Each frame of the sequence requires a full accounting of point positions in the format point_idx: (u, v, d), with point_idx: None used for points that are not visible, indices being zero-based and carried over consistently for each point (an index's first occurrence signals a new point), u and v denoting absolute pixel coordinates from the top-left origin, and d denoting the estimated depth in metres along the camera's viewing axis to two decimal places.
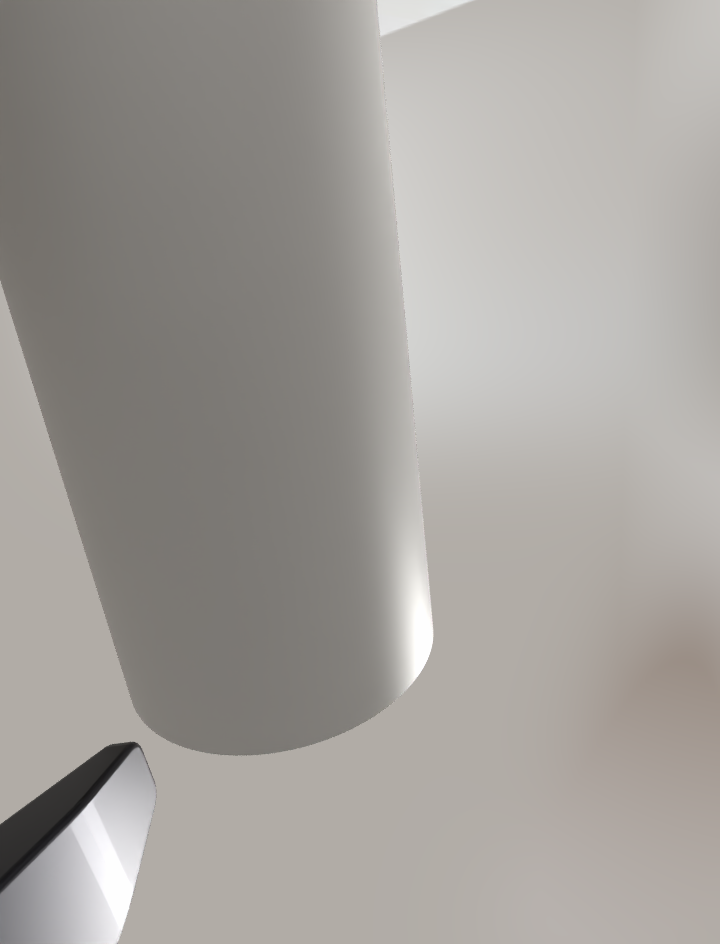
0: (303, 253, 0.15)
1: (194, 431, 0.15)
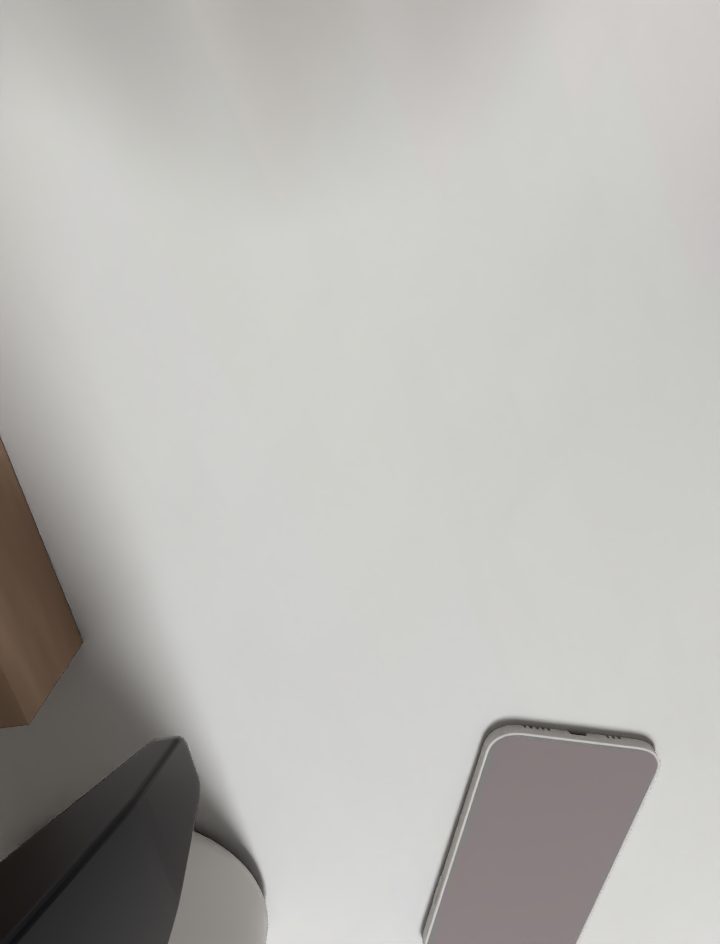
0: None
1: None
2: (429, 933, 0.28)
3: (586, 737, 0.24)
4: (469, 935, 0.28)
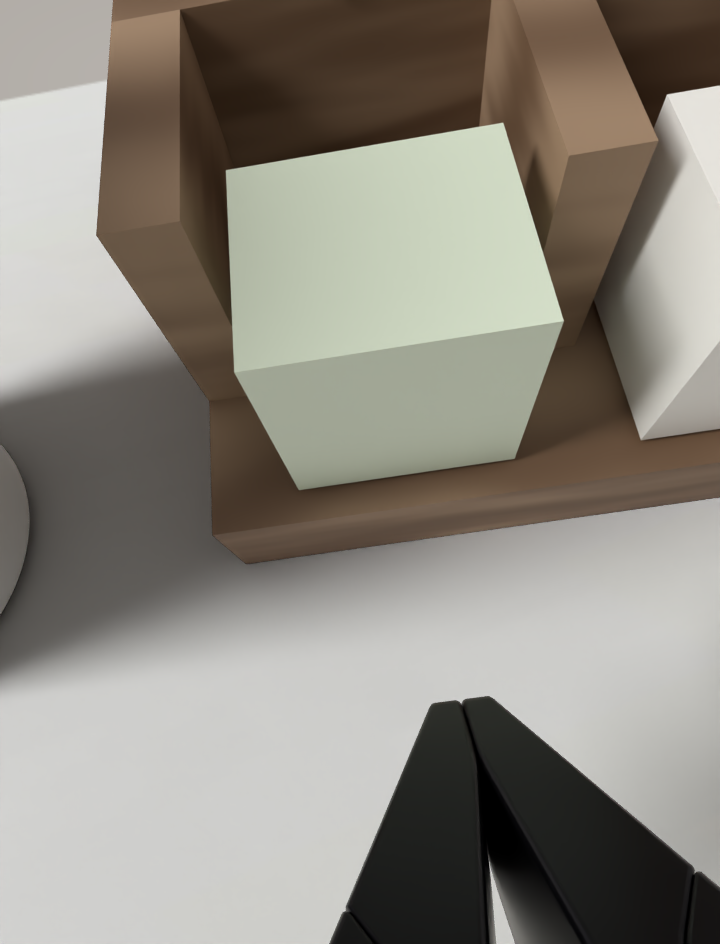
0: None
1: None
2: None
3: None
4: None
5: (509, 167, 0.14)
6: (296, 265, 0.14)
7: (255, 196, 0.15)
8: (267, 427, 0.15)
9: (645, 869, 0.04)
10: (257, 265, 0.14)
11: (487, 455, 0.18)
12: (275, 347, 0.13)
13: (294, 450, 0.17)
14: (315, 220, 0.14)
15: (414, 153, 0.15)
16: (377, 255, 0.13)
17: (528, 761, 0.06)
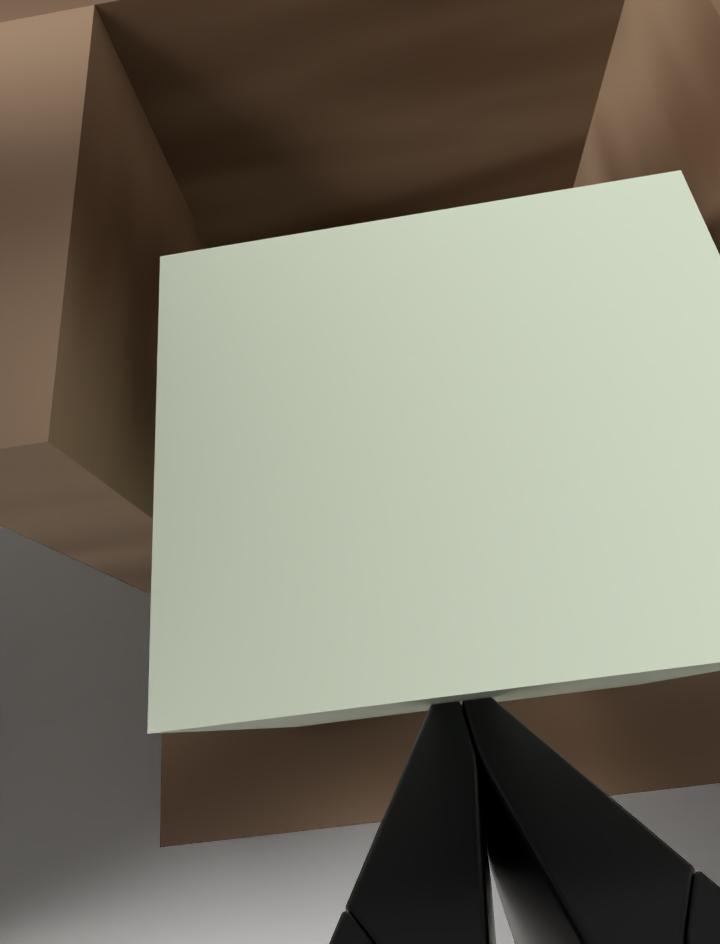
0: None
1: None
2: None
3: None
4: None
5: (704, 261, 0.07)
6: (287, 466, 0.07)
7: (211, 310, 0.08)
8: (235, 728, 0.08)
9: (645, 869, 0.04)
10: (209, 462, 0.07)
11: None
12: (238, 670, 0.06)
13: (288, 724, 0.10)
14: (325, 366, 0.07)
15: (514, 230, 0.08)
16: (452, 451, 0.07)
17: (528, 760, 0.06)
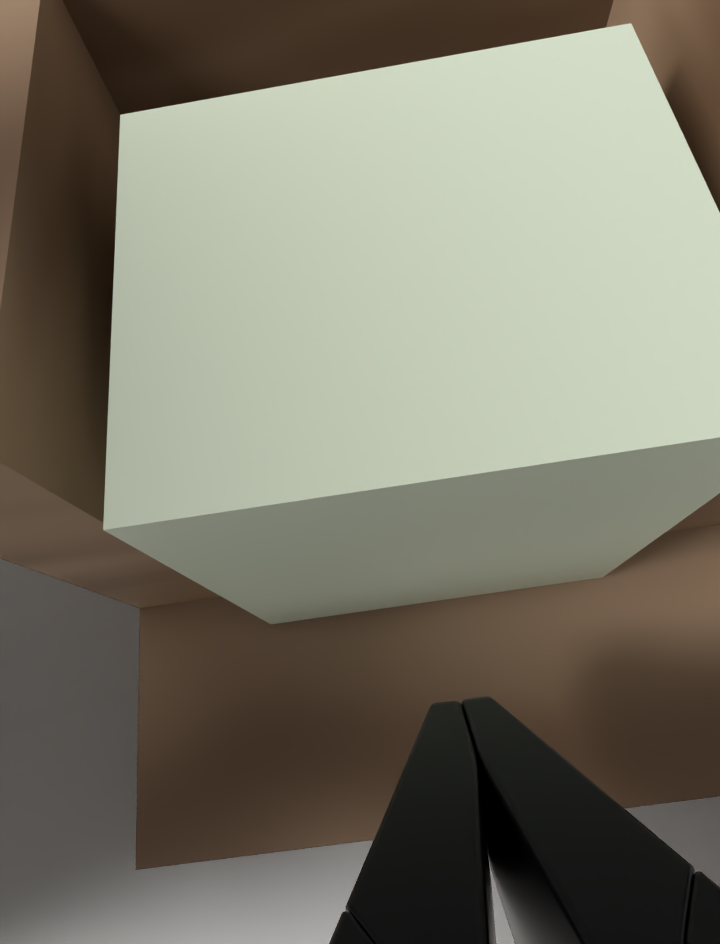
0: None
1: None
2: None
3: None
4: None
5: (651, 101, 0.07)
6: (241, 295, 0.07)
7: (170, 161, 0.08)
8: (200, 581, 0.08)
9: (645, 869, 0.04)
10: (165, 294, 0.07)
11: (564, 578, 0.12)
12: (190, 472, 0.06)
13: (256, 596, 0.10)
14: (281, 207, 0.07)
15: (468, 80, 0.08)
16: (402, 276, 0.07)
17: (527, 761, 0.06)
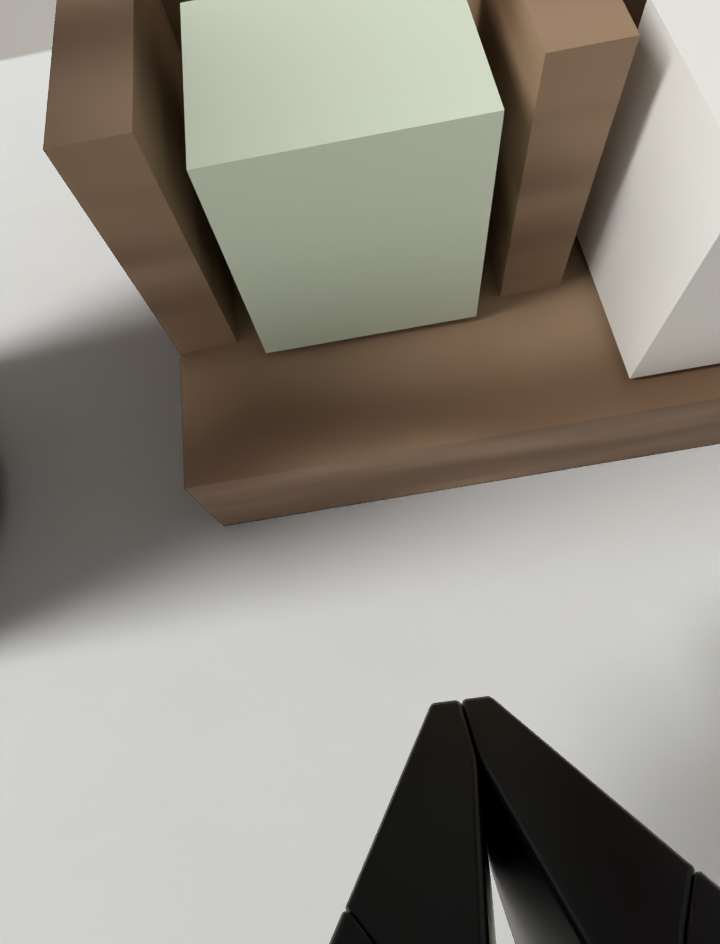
0: None
1: None
2: None
3: None
4: None
5: None
6: (247, 78, 0.14)
7: (208, 23, 0.15)
8: (226, 255, 0.15)
9: (645, 869, 0.04)
10: (209, 79, 0.14)
11: (448, 309, 0.19)
12: (225, 147, 0.13)
13: (257, 291, 0.17)
14: (266, 40, 0.14)
15: None
16: (325, 66, 0.14)
17: (527, 761, 0.06)
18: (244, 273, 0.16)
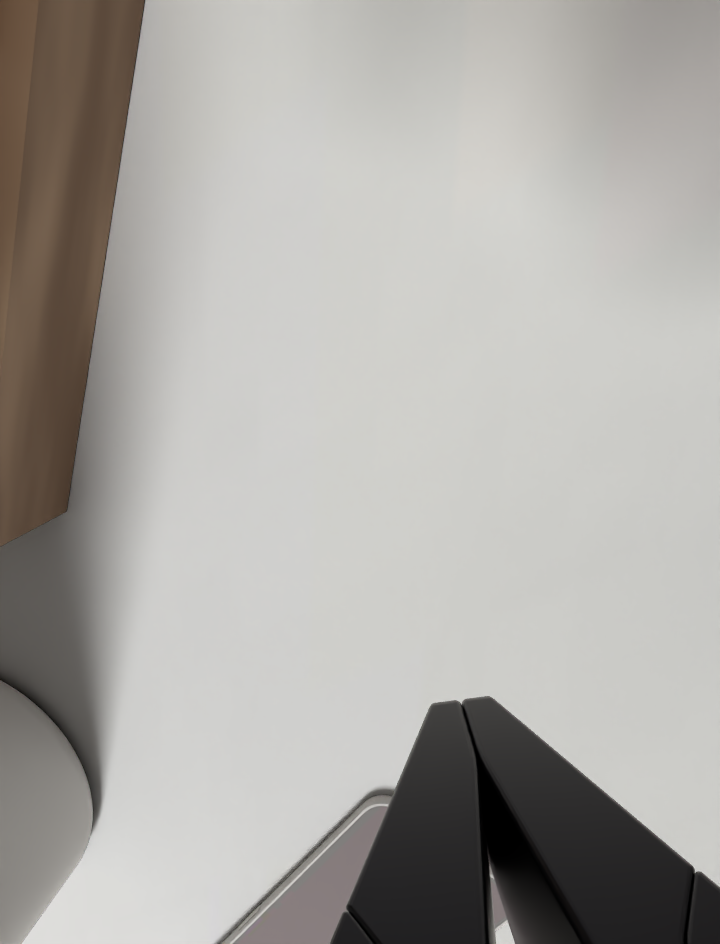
0: None
1: None
2: None
3: None
4: None
5: None
6: None
7: None
8: None
9: (645, 869, 0.04)
10: None
11: None
12: None
13: None
14: None
15: None
16: None
17: (528, 760, 0.06)
18: None
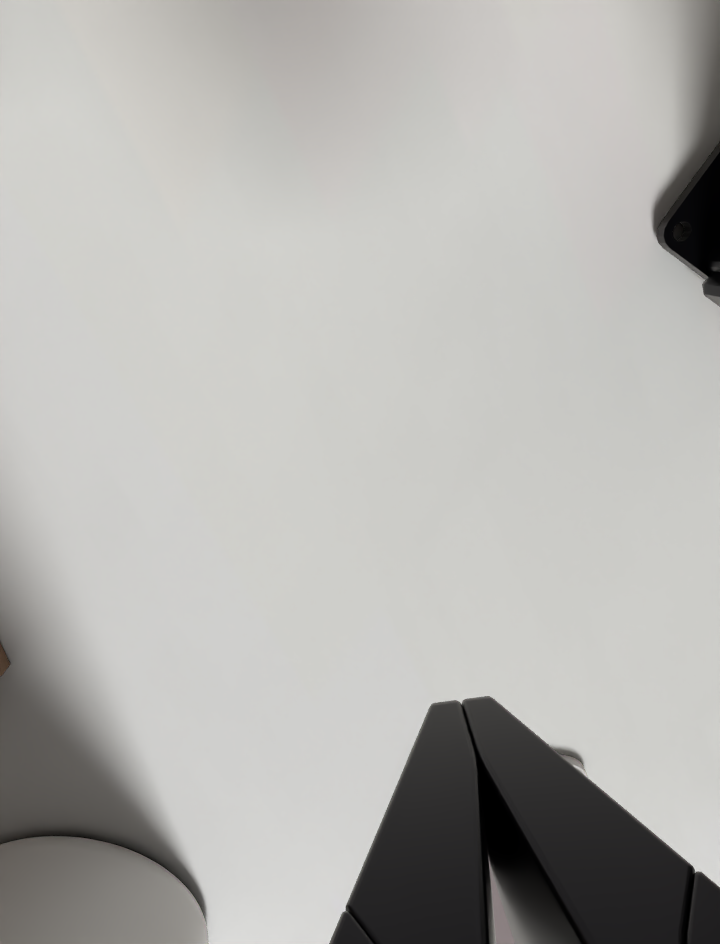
0: None
1: None
2: None
3: None
4: None
5: None
6: None
7: None
8: None
9: (644, 869, 0.04)
10: None
11: None
12: None
13: None
14: None
15: None
16: None
17: (527, 761, 0.06)
18: None
